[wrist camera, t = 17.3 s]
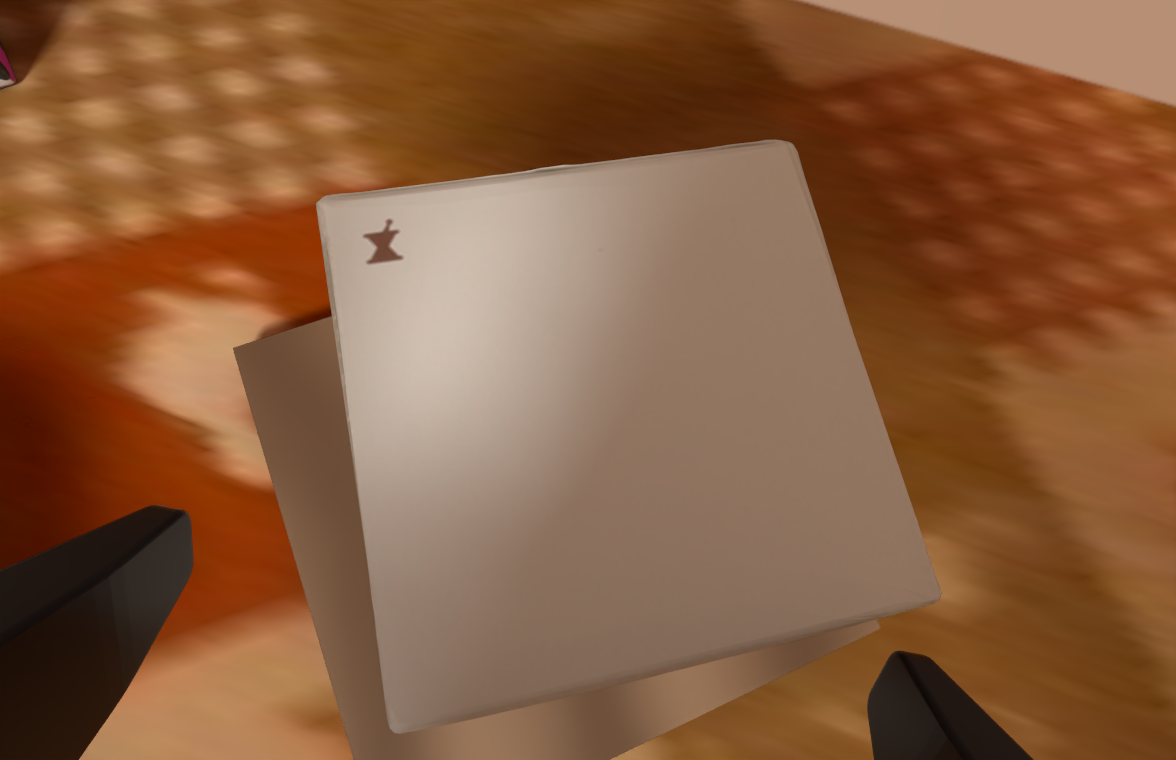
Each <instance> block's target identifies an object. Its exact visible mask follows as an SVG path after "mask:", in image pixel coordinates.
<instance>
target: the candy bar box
mask: <svg viewBox="0 0 1176 760" xmlns="http://www.w3.org/2000/svg"><path fill="white" fill-rule="evenodd" d="M15 81H16V79H15V76H14V73H13V71H12V69H11V66H10V64H9V62H8V59H7V57H6V55H5V52H4V50H3V48H2V45H1V43H0V89H1V88H4V87H7V86H10V85H13V84H14V83H15Z"/></svg>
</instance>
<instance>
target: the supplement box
mask: <svg viewBox="0 0 1176 760" xmlns="http://www.w3.org/2000/svg"><path fill="white" fill-rule="evenodd" d="M316 207H317V214H318V222H319V229H320V236H321V243H322V250H323V257H324V264H325V270H326V277H327V284H328V291H329V298H330V305H331V312H332V319H333V326H334V333H335V340H336V347H337V354H338V361H339V368H340V375H341V382H342V389H343V396H344V403H345V410H346V416H347V423H348V430H349V437H350V444H351V451H352V458H353V465H354V472H355V479H356V486H357V493H358V500H359V507H360V514H361V521H362V528H363V535H364V543H365V550H366V557H367V564H368V571H369V578H370V587H371V596H372V604H373V610H374V617H375V626H376V636H377V643H378V650H379V658H380V666H381V674H382V682H383V690H384V698H385V705H386V712H387V719H388V724H389V727H390V729H391V730H392V731H393V732H394V733H398V734H401V733H406V732H412V731H418V730H424V729H429V728H434V727H439V726H443V725H448V724H453V723H458V722H462V721H467V720H472V719H476V718H481V717H485V716H489V715H493V714H497V713H501V712H506V711H510V710H514V709H519V708H523V707H527V706H532V705H536V704H540V703H544V702H548V701H553V700H557V699H561V698H565V697H570V696H574V695H578V694H582V693H586V692H591V691H595V690H599V689H603V688H607V687H612V686H616V685H620V684H624V683H628V682H633V681H637V680H641V679H645V678H649V677H653V676H657V675H661V674H665V673H669V672H673V671H677V670H681V669H685V668H689V667H692V666H696V665H700V664H704V663H708V662H712V661H716V660H720V659H724V658H728V657H732V656H736V655H740V654H744V653H748V652H752V651H756V650H760V649H764V648H768V647H772V646H776V645H780V644H784V643H788V642H792V641H796V640H800V639H804V638H808V637H812V636H816V635H820V634H824V633H828V632H832V631H836V630H840V629H844V628H848V627H852V626H855V625H859V624H862V623H866V622H870V621H873V620H877V619H880V618H884V617H888V616H891V615H895V614H898V613H902V612H906V611H909V610H913V609H916V608H920V607H924V606H927V605H930V604H933V603H936V602H938V601H939V600H940V597H941V594H942V592H941V590H940V587H939V584H938V582H937V579H936V576H935V573H934V570H933V567H932V564H931V561H930V558H929V555H928V552H927V549H926V546H925V543H924V540H923V537H922V534H921V531H920V528H919V525H918V522H917V519H916V516H915V513H914V510H913V507H912V504H911V501H910V499H909V496H908V493H907V490H906V487H905V484H904V481H903V478H902V475H901V472H900V469H899V466H898V463H897V460H896V457H895V455H894V452H893V449H892V446H891V443H890V440H889V437H888V434H887V431H886V428H885V425H884V422H883V419H882V416H881V413H880V410H879V407H878V404H877V401H876V398H875V395H874V392H873V389H872V386H871V383H870V380H869V378H868V375H867V372H866V369H865V366H864V363H863V360H862V357H861V354H860V351H859V348H858V345H857V342H856V339H855V337H854V334H853V330H852V327H851V324H850V321H849V317H848V314H847V311H846V308H845V304H844V301H843V298H842V295H841V291H840V288H839V285H838V282H837V278H836V275H835V272H834V269H833V265H832V262H831V259H830V256H829V252H828V249H827V246H826V242H825V239H824V236H823V232H822V229H821V226H820V223H819V220H818V217H817V214H816V210H815V207H814V204H813V201H812V198H811V195H810V192H809V188H808V185H807V182H806V179H805V175H804V172H803V169H802V165H801V162H800V158H799V155H798V152H797V150H796V148H795V146H794V145H793V144H792V143H791V142H788V141H782V140H763V141H757V142H749V143H740V144H731V145H724V146H718V147H712V148H706V149H698V150H690V151H681V152H673V153H665V154H657V155H649V156H641V157H634V158H626V159H619V160H611V161H603V162H595V163H586V164H577V165H560V166H553V167H545V168H538V169H534V170H529V171H524V172H517V173H509V174H501V175H492V176H485V177H478V178H471V179H463V180H455V181H447V182H439V183H431V184H423V185H415V186H406V187H398V188H390V189H383V190H375V191H367V192H358V193H343V194H334V195H328V196H324V197H323V198H322V199H321V200H319V201H318V203H317V204H316Z"/></svg>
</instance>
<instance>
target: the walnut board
mask: <svg viewBox="0 0 1176 760" xmlns="http://www.w3.org/2000/svg"><path fill="white" fill-rule="evenodd" d="M233 350H234V354H235V357H236V361H237V364H238V367H239V371H240V374H241V378H242V381H243V384H244V388H245V391H246V395H247V398H248V401H249V405H250V408H251V412H252V415H253V418H254V422H255V425H256V429H257V432H258V435H259V439H260V442H261V446H262V449H263V452H264V456H265V459H266V463H267V466H268V469H269V473H270V476H271V480H272V483H273V486H274V490H275V493H276V497H277V500H278V503H279V507H280V510H281V514H282V517H283V520H284V524H285V527H286V531H287V534H288V537H289V541H290V544H291V548H292V551H293V554H294V558H295V561H296V565H297V568H298V571H299V575H300V578H301V582H302V585H303V588H304V592H305V595H306V599H307V602H308V605H309V609H310V612H311V616H312V619H313V622H314V626H315V629H316V633H317V636H318V639H319V643H320V646H321V650H322V653H323V656H324V660H325V663H326V667H327V670H328V673H329V677H330V680H331V684H332V687H333V690H334V694H335V697H336V701H337V704H338V707H339V711H340V714H341V718H342V721H343V724H344V728H345V731H346V735H347V738H348V741H349V745H350V748H351V752H352V755H353V758H354V760H610V759H612V758H614V757H616V756H618V755H620V754H622V753H624V752H626V751H628V750H630V749H633V748H635V747H637V746H639V745H641V744H643V743H645V742H647V741H649V740H651V739H653V738H655V737H657V736H659V735H661V734H664V733H666V732H668V731H670V730H672V729H674V728H676V727H678V726H680V725H682V724H684V723H686V722H688V721H690V720H692V719H695V718H697V717H699V716H701V715H703V714H705V713H707V712H709V711H711V710H713V709H715V708H717V707H719V706H721V705H723V704H726V703H728V702H730V701H732V700H734V699H736V698H738V697H740V696H742V695H744V694H746V693H748V692H750V691H752V690H754V689H757V688H759V687H761V686H763V685H765V684H767V683H769V682H771V681H773V680H775V679H777V678H779V677H781V676H783V675H785V674H788V673H790V672H792V671H794V670H796V669H798V668H800V667H802V666H804V665H806V664H808V663H810V662H812V661H814V660H816V659H819V658H821V657H823V656H825V655H827V654H829V653H831V652H833V651H835V650H837V649H839V648H841V647H843V646H845V645H847V644H850V643H852V642H854V641H856V640H858V639H860V638H862V637H864V636H866V635H868V634H870V633H872V632H874V631H876V630H878V629H881V628H880V626H879V624H878V622H877V620H873V621H870V622H866V623H862V624H859V625H855V626H852V627H848V628H844V629H840V630H836V631H832V632H828V633H824V634H820V635H816V636H812V637H808V638H804V639H800V640H796V641H792V642H788V643H784V644H780V645H776V646H772V647H768V648H764V649H760V650H756V651H752V652H748V653H744V654H740V655H736V656H732V657H728V658H724V659H720V660H716V661H712V662H708V663H704V664H700V665H696V666H692V667H689V668H685V669H681V670H677V671H673V672H669V673H665V674H661V675H657V676H653V677H649V678H645V679H641V680H637V681H633V682H628V683H624V684H620V685H616V686H612V687H607V688H603V689H599V690H595V691H591V692H586V693H582V694H578V695H574V696H570V697H565V698H561V699H557V700H553V701H548V702H544V703H540V704H536V705H532V706H527V707H523V708H519V709H514V710H510V711H506V712H501V713H497V714H493V715H489V716H485V717H481V718H476V719H472V720H467V721H462V722H458V723H453V724H448V725H443V726H439V727H434V728H429V729H424V730H418V731H412V732H406V733H401V734H398V733H394V732H393V731H392V730H391V729H390V727H389V724H388V719H387V712H386V705H385V698H384V690H383V682H382V674H381V666H380V658H379V650H378V643H377V636H376V626H375V617H374V610H373V604H372V596H371V587H370V578H369V571H368V564H367V557H366V550H365V543H364V535H363V528H362V521H361V514H360V507H359V500H358V493H357V486H356V479H355V472H354V465H353V458H352V451H351V444H350V437H349V430H348V423H347V416H346V410H345V403H344V396H343V389H342V382H341V375H340V368H339V361H338V354H337V347H336V340H335V333H334V326H333V319H332V316H331V317H328V318H325V319H322V320H318V321H315V322H312V323H309V324H306V325H303V326H300V327H297V328H294V329H291V330H287V331H284V332H281V333H278V334H275V335H272V336H269V337H266V338H263V339H260V340H256V341H253V342H250V343H247V344H244V345H241V346H238V347H235V348H233Z"/></svg>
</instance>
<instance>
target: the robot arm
mask: <svg viewBox="0 0 1176 760" xmlns="http://www.w3.org/2000/svg"><path fill="white" fill-rule="evenodd" d="M192 568H193V546H192V530H191V519H190V516H189V514H188V513H187V512H186V511H184V510H182V509H177V508H172V507H167V506H162V505H151V506H148V507H145V508H143V509H140V510H138V511H136V512H133V513H131V514H129V515H126V516H124V517H122V518H120V519H117V520H115V521H113V522H110V523H108V524H106V525H103V526H101V527H99V528H96V529H94V530H92V531H89V532H87V533H85V534H82V535H80V536H78V537H76V538H73V539H71V540H69V541H66V542H64V543H62V544H59V545H57V546H55V547H52V548H50V549H48V550H45V551H43V552H41V553H39V554H36V555H34V556H32V557H29V558H27V559H25V560H22V561H20V562H18V563H15V564H13V565H11V566H8V567H6V568H4V569H1V570H0V760H79V758H80V757H81V756H82V754H83V753H84V751H85V750H86V748H87V747H88V746H89V744H90V743H91V741H92V740H93V738H94V737H95V736H96V734H97V733H98V731H99V730H100V728H101V727H102V726H103V724H104V723H105V721H106V720H107V718H108V717H109V716H110V714H111V713H112V711H113V710H114V708H115V707H116V705H117V704H118V702H119V701H120V699H121V698H122V696H123V695H124V693H125V692H126V690H127V688H128V687H129V685H130V683H131V682H132V680H133V678H134V677H135V675H136V673H137V671H138V670H139V668H140V666H141V664H142V662H143V661H144V659H145V657H146V655H147V653H148V652H149V650H150V648H151V646H152V644H153V643H154V641H155V639H156V637H157V635H158V634H159V632H160V630H161V628H162V626H163V625H164V623H165V621H166V619H167V617H168V616H169V614H170V612H171V610H172V608H173V607H174V605H175V603H176V601H177V599H178V598H179V596H180V594H181V592H182V590H183V589H184V587H185V585H186V583H187V581H188V579H189V577H190V575H191V571H192ZM867 710H868V719H869V726H870V733H871V741H872V748H873V755H874V760H1033V759H1032V758H1031V757H1030V756H1029V755H1028V754H1027V753H1026V752H1025V751H1024V750H1023V749H1022V748H1021V747H1020V746H1019V745H1018V744H1017V743H1016V742H1015V741H1014V740H1013V739H1012V738H1011V737H1010V736H1009V735H1008V734H1007V733H1006V732H1005V731H1004V730H1003V729H1002V728H1001V727H1000V726H999V725H998V724H997V723H996V722H995V721H994V720H993V719H992V718H991V717H990V716H989V715H988V714H987V713H986V712H985V711H984V710H983V709H982V708H981V707H980V706H979V705H978V704H977V703H976V702H975V701H974V700H973V699H972V698H971V697H970V696H969V695H968V694H967V693H966V692H964V691H963V690H962V689H961V688H960V687H959V686H958V685H957V684H956V683H955V682H954V681H953V680H952V679H951V678H950V677H949V676H948V675H947V674H946V673H945V672H944V671H943V670H942V669H941V668H940V667H939V666H938V665H937V664H936V663H935V662H934V661H933V660H932V659H931V658H929V657H927V656H925V655H921V654H916V653H911V652H906V651H895V652H894V653H892V654H891V655H890V657H889V658H888V660H887V662H886V664H885V666H884V667H883V669H882V671H881V673H880V675H879V677H878V678H877V680H876V682H875V684H874V686H873V688H872V689H871V692H870V694H869V698H868V706H867Z"/></svg>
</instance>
